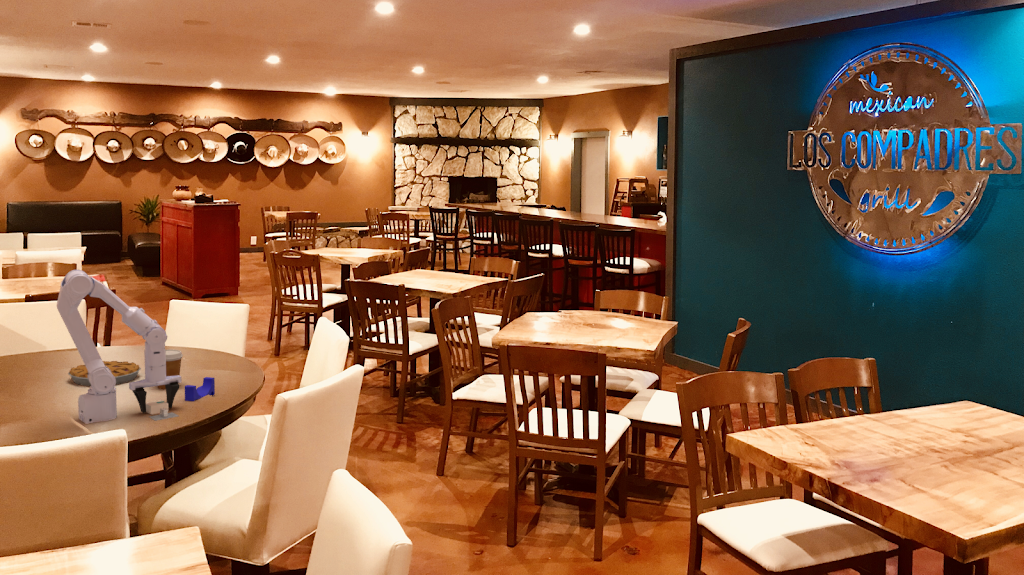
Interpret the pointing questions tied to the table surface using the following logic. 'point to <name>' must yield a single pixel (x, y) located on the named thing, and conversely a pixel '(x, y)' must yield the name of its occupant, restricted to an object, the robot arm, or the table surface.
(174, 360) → the disposable coffee cup
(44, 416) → the table surface
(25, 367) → the table surface
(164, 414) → the shaft
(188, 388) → the blue u-shaped cradle
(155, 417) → the base plate
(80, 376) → the pie
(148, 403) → the small white box
